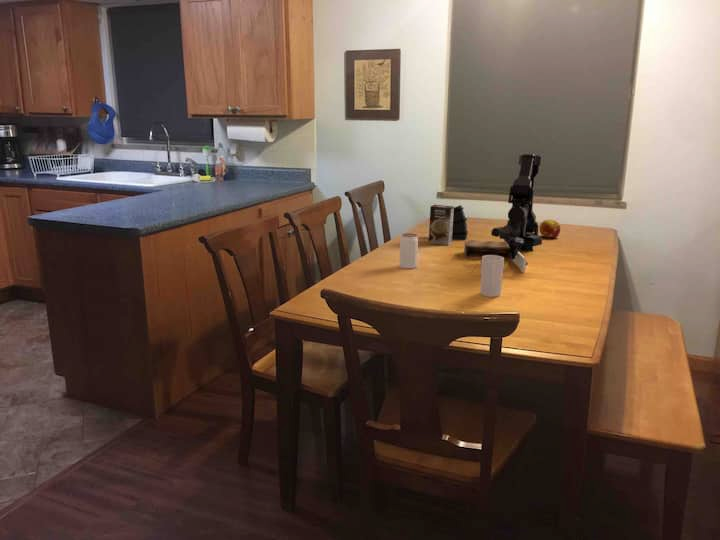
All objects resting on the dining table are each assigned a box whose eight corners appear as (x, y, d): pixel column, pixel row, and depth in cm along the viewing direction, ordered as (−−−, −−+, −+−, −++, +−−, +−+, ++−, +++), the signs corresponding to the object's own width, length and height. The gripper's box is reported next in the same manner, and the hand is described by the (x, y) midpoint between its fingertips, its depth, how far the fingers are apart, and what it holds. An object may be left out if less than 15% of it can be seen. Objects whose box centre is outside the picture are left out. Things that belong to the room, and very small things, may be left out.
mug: (479, 290, 197) (481, 254, 194) (500, 291, 196) (503, 255, 193) (479, 299, 187) (482, 262, 184) (502, 301, 186) (505, 263, 183)
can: (418, 265, 226) (420, 233, 223) (414, 269, 220) (415, 237, 217) (401, 263, 228) (403, 232, 225) (397, 268, 222) (398, 235, 219)
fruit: (562, 239, 273) (564, 222, 271) (541, 239, 273) (543, 222, 271) (556, 235, 283) (557, 218, 280) (536, 235, 283) (538, 218, 281)
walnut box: (509, 254, 245) (510, 242, 244) (511, 260, 236) (512, 247, 235) (464, 251, 248) (465, 239, 247) (464, 257, 238) (465, 245, 237)
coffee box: (428, 243, 262) (429, 206, 258) (432, 240, 268) (433, 204, 264) (448, 245, 259) (450, 207, 255) (452, 242, 265) (454, 205, 261)
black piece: (472, 237, 267) (459, 205, 266) (445, 247, 274) (433, 216, 273) (474, 235, 271) (462, 204, 270) (447, 245, 277) (435, 214, 276)
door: (511, 260, 236) (512, 247, 234) (516, 260, 236) (517, 247, 234) (522, 272, 219) (523, 258, 218) (527, 272, 219) (529, 258, 218)
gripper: (484, 214, 224) (479, 255, 228) (527, 225, 210) (521, 268, 215) (503, 212, 231) (498, 251, 235) (545, 222, 217) (539, 263, 222)
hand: (513, 258), depth 227 cm, fingers closed
